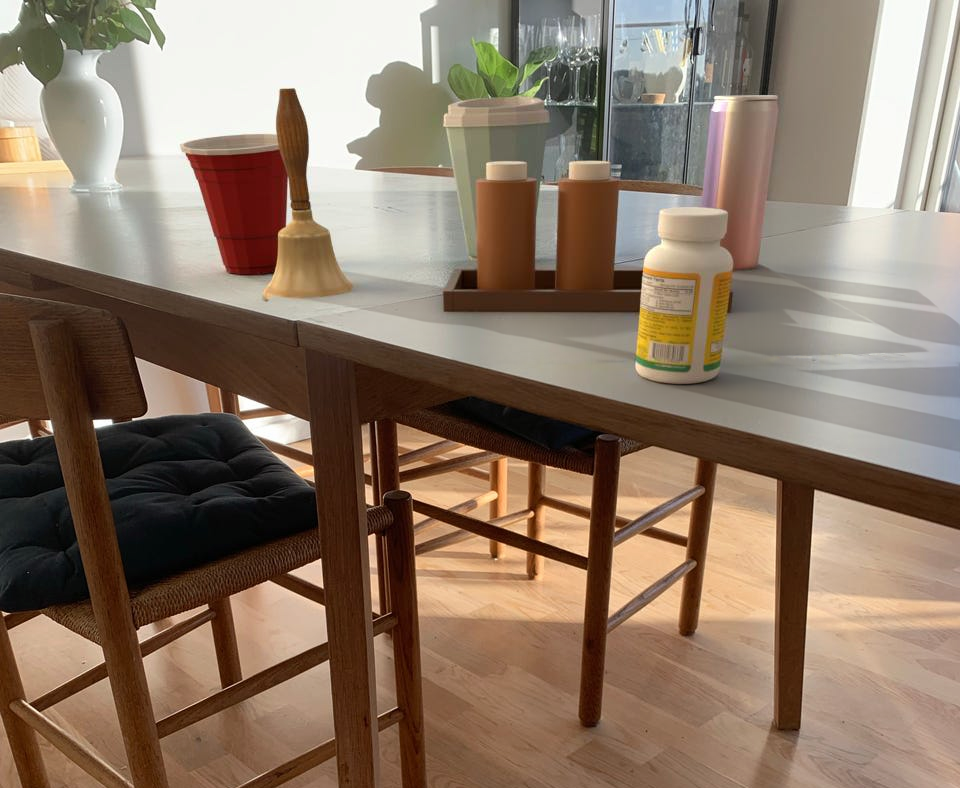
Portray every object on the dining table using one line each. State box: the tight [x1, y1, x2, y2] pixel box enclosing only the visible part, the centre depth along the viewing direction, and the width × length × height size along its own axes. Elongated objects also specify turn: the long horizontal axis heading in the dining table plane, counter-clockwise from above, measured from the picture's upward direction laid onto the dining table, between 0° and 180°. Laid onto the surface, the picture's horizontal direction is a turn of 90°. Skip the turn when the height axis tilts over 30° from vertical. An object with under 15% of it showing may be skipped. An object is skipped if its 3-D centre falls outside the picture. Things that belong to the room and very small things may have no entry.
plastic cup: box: [179, 133, 289, 275], centre depth 93 cm, size 11×11×12 cm
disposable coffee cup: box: [442, 96, 551, 262], centre depth 96 cm, size 11×11×15 cm
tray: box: [442, 268, 734, 314], centre depth 79 cm, size 23×11×2 cm, turn 87°
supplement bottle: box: [635, 206, 733, 385], centre depth 58 cm, size 5×5×10 cm
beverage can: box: [700, 94, 779, 272], centre depth 89 cm, size 6×6×15 cm
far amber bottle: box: [476, 161, 537, 290], centre depth 77 cm, size 5×5×10 cm
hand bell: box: [262, 87, 356, 301], centre depth 80 cm, size 8×8×16 cm
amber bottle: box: [555, 160, 621, 290], centre depth 76 cm, size 5×5×10 cm
